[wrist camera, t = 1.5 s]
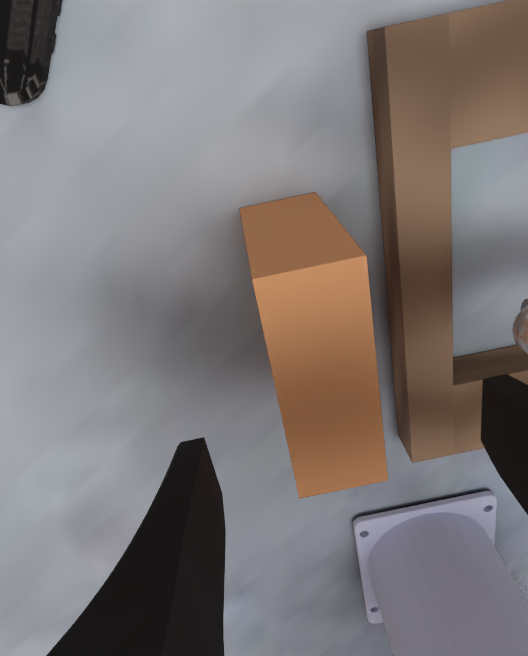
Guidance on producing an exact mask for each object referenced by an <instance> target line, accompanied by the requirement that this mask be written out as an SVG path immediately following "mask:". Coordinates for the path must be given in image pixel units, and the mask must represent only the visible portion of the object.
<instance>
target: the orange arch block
mask: <svg viewBox="0 0 528 656" xmlns="http://www.w3.org/2000/svg"><path fill="white" fill-rule="evenodd" d="M240 214H241V220H242V225H243V231H244V237H245V242H246V248H247V254H248V259H249V265H250V271H251V276H252V281H253V286H254V291H255V295H256V300H257V305H258V309H259V314H260V318H261V323H262V328H263V332H264V337H265V342H266V346H267V351H268V355H269V360H270V365H271V369H272V374H273V379H274V383H275V388H276V392H277V397H278V402H279V406H280V411H281V416H282V420H283V425H284V429H285V434H286V439H287V443H288V448H289V453H290V457H291V462H292V466H293V471H294V476H295V480H296V485H297V490H298V494H299V498H304V497H309V496H314V495H319V494H324V493H329V492H333V491H338V490H343V489H348V488H353V487H358V486H363V485H367V484H372V483H377V482H382V481H387V480H388V475H387V464H386V454H385V443H384V433H383V423H382V412H381V402H380V391H379V381H378V370H377V360H376V350H375V339H374V329H373V318H372V308H371V297H370V287H369V277H368V266H367V256H366V254H365V253H364V252H363V250H362V249H361V248H360V247H359V246H358V244H357V243H356V242H355V241H354V239H353V238H352V237H351V236H350V234H349V233H348V232H347V231H346V230H345V228H344V227H343V226H342V225H341V223H340V222H339V221H338V220H337V218H336V217H335V216H334V215H333V214H332V212H331V211H330V210H329V209H328V207H327V206H326V205H325V204H324V202H323V201H322V200H321V199H320V198H319V196H318V195H317V194H316V193H315V192H314V193H309V194H304V195H300V196H295V197H290V198H285V199H281V200H276V201H271V202H267V203H262V204H257V205H252V206H248V207H243V208H240Z"/></svg>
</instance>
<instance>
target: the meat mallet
mask: <svg viewBox="0 0 528 656" xmlns="http://www.w3.org/2000/svg"><path fill="white" fill-rule="evenodd" d="M513 337H514V340H515V342H516V343H517V345H518V346H519V348H520V349H521V350H522V351H524V352H525V353H526V354H528V299H525V300H524V301H523V303H522V305H521V311H520V312H519V313H518V315H517V316H516V318H515V320H514V323H513Z"/></svg>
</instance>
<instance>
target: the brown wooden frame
mask: <svg viewBox="0 0 528 656" xmlns="http://www.w3.org/2000/svg"><path fill="white" fill-rule="evenodd" d="M367 37H368V50H369V63H370V76H371V88H372V101H373V114H374V127H375V140H376V153H377V166H378V178H379V191H380V204H381V217H382V230H383V243H384V256H385V268H386V281H387V294H388V307H389V320H390V333H391V346H392V358H393V371H394V384H395V397H396V410H397V423H398V435H399V437H400V439H401V441H402V443H403V445H404V447H405V449H406V451H407V453H408V455H409V457H410V459H411V461H412V463H414V462H419V461H424V460H429V459H433V458H438V457H443V456H448V455H453V454H458V453H463V452H467V451H472V450H477V449H482V448H485V447H484V445H483V444H482V442H481V413H482V385H483V379H485V378H489V377H494V376H499V375H504V374H508V375H510V376H512V377H514V378H516V379H518V380H519V381H521V382H523V383H525V384H527V385H528V354H526V353H525V352H524V351H522V350H521V349H520V348H519V346H518V345H514V346H509V347H505V348H500V349H495V350H490V351H485V352H481V353H476V354H471V355H466V356H461V357H457V358H453V331H452V233H451V149H452V148H457V147H461V146H466V145H471V144H476V143H480V142H485V141H490V140H494V139H499V138H504V137H509V136H513V135H518V134H523V133H528V0H508V1H503V2H499V3H494V4H489V5H485V6H480V7H475V8H471V9H466V10H461V11H457V12H452V13H447V14H443V15H438V16H433V17H429V18H424V19H419V20H415V21H410V22H406V23H401V24H396V25H392V26H387V27H383V28H378V29H374V30H370V31H367Z"/></svg>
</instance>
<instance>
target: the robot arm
mask: <svg viewBox="0 0 528 656" xmlns="http://www.w3.org/2000/svg"><path fill="white" fill-rule="evenodd" d="M481 442H482V444H483V445H484V447H485V449H486V451H487V453H488V455H489V457H490V459H491V461H492V463H493V464H494V466H495V468H496V470H497V472H498V473H499V475H500V476H501V478H502V479H503V481H504V482H505V484H506V485H507V487H508V488H509V489H510V491H511V492H512V494H513V495H514V496H515V498H516V499H517V501H518V502H519V503H520V505H521V506H522V508H523V509H524V510H525V512H526V513H527V514H528V385H527V384H525V383H523V382H521V381H519V380H518V379H516V378H514V377H512V376H510V375H508V374H504V375H499V376H494V377H489V378H485V379H483V385H482V413H481ZM496 510H497V498H496V496H495V495H494V493H493V492H491V491H483V492H479V493H474V494H469V495H464V496H459V497H454V498H449V499H444V500H439V501H435V502H430V503H425V504H420V505H415V506H410V507H405V508H400V509H396V510H391V511H386V512H381V513H376V514H371V515H366V516H361V517H358V518H357V519H355V520H354V522H353V529H354V535H355V542H356V549H357V555H358V562H359V569H360V575H361V582H362V589H363V595H364V602H365V608H366V615H367V619H368V621H369V622H370V623H372V624H377V623H382V622H383V623H384V626H385V630H386V633H387V636H388V639H389V643H390V646H391V649H392V653H393V656H528V603H527V601H526V599H525V598H524V596H523V594H522V592H521V591H520V589H519V587H518V586H517V584H516V582H515V580H514V579H513V577H512V575H511V574H510V572H509V570H508V568H507V567H506V565H505V563H504V562H503V560H502V558H501V557H500V555H499V553H498V551H497V550H496V548H495V531H496ZM362 531H363V532H362ZM224 574H225V519H224V508H223V497H222V492H221V489H220V485H219V482H218V479H217V476H216V473H215V470H214V467H213V464H212V461H211V457H210V454H209V451H208V448H207V445H206V442H205V439H204V437H203V438H199V439H194V440H189V441H184V442H181V443H180V444H179V445H178V447H177V449H176V452H175V454H174V457H173V459H172V461H171V464H170V466H169V468H168V471H167V473H166V475H165V477H164V480H163V482H162V484H161V486H160V488H159V490H158V492H157V494H156V496H155V498H154V500H153V502H152V504H151V506H150V508H149V510H148V512H147V514H146V516H145V518H144V520H143V521H142V523H141V525H140V527H139V529H138V530H137V532H136V534H135V536H134V537H133V539H132V541H131V543H130V544H129V546H128V548H127V549H126V551H125V553H124V554H123V556H122V557H121V559H120V561H119V562H118V564H117V565H116V567H115V568H114V570H113V571H112V573H111V574H110V576H109V577H108V579H107V580H106V581H105V583H104V584H103V586H102V587H101V588H100V590H99V591H98V592H97V594H96V595H95V597H94V598H93V599H92V601H91V602H90V603H89V605H88V606H87V607H86V609H85V610H84V611H83V613H82V614H81V615H80V616H79V618H78V619H77V620H76V621H75V623H74V624H73V625H72V626H71V628H70V629H69V630H68V631H67V632H66V633H65V635H64V636H63V637H62V638H61V639H60V640H59V642H58V643H57V644H56V645H55V646H54V647H53V649H52V650H51V651H50V652H49V653H48V654H47V656H224V642H223V609H224Z"/></svg>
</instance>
